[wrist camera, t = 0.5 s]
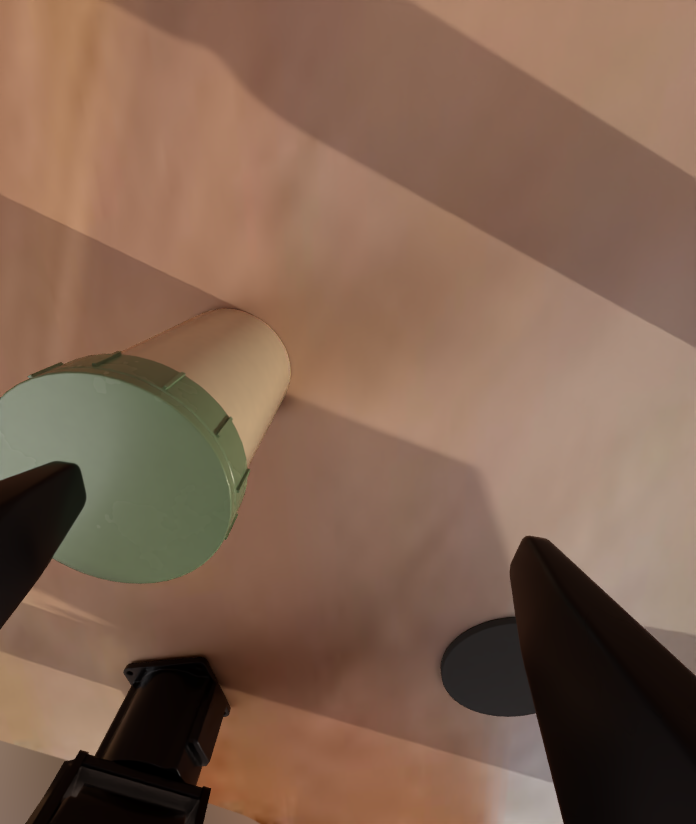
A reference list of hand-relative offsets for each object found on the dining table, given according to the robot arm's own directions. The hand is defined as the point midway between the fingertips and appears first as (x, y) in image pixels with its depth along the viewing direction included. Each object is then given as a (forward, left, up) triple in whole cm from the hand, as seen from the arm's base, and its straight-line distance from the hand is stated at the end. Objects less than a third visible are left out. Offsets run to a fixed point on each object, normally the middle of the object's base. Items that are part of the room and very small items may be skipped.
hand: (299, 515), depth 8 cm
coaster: (+7, -25, -13) cm, 29 cm away
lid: (-6, 0, -2) cm, 6 cm away
